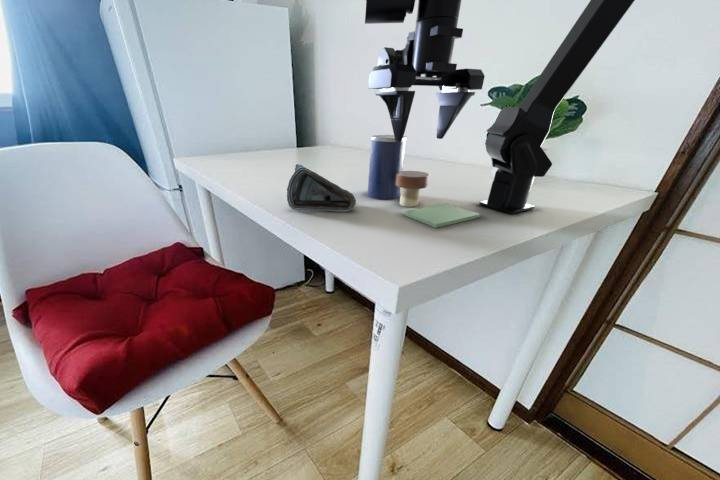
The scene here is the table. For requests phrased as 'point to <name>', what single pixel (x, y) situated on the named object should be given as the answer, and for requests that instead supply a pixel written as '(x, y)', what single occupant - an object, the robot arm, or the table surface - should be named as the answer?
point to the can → (385, 166)
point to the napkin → (441, 215)
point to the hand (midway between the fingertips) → (419, 140)
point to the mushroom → (411, 186)
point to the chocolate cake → (317, 193)
